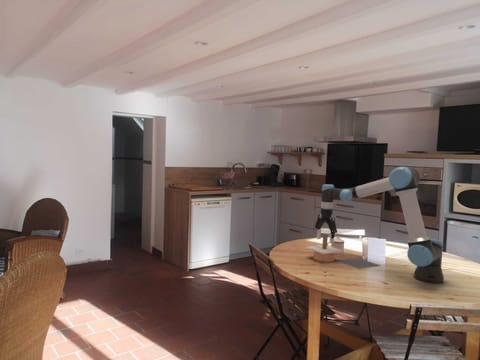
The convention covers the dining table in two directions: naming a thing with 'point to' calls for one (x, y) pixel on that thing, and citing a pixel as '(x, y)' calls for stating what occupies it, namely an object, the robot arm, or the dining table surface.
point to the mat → (359, 263)
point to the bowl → (324, 257)
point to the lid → (324, 247)
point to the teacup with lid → (338, 244)
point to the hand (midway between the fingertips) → (324, 241)
